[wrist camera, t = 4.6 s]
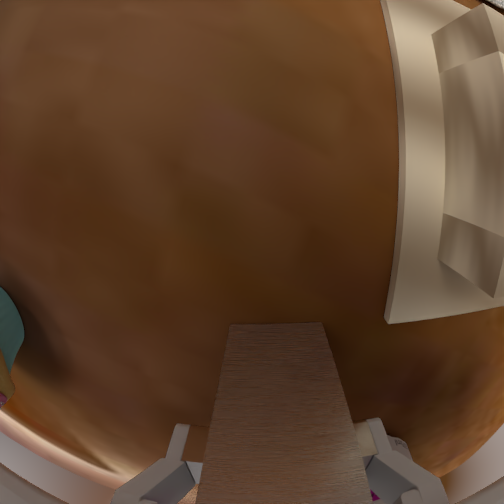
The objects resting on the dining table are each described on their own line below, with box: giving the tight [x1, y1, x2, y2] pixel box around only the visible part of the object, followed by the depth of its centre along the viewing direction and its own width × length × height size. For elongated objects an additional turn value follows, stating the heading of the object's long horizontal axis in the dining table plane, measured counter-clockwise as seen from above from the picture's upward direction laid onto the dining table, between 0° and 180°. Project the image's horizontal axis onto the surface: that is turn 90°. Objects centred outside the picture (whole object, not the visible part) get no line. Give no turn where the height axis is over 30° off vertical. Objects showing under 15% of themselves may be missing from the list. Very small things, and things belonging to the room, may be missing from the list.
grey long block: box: [195, 322, 373, 504], centre depth 7 cm, size 4×4×12 cm
